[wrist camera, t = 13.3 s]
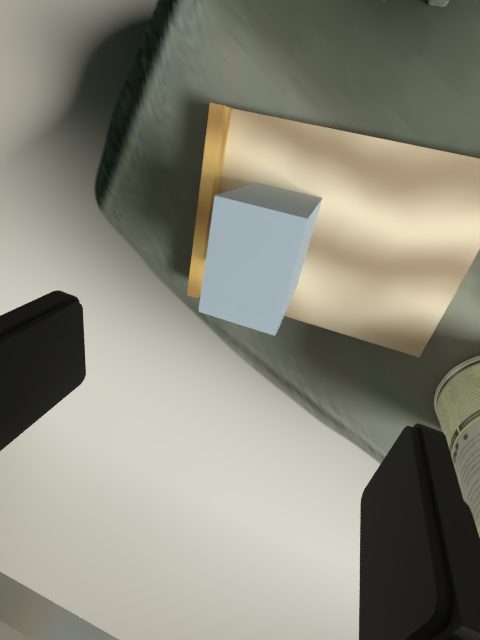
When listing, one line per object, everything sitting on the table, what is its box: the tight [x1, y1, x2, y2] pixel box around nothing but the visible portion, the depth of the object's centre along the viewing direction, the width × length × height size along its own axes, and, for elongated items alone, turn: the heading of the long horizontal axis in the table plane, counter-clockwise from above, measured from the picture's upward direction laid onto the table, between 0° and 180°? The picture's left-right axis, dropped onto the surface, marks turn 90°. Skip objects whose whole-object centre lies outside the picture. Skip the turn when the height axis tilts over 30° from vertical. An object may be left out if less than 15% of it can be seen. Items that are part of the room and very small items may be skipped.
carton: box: [199, 183, 323, 336], centre depth 23 cm, size 5×7×9 cm
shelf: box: [187, 103, 480, 358], centre depth 26 cm, size 14×20×3 cm
